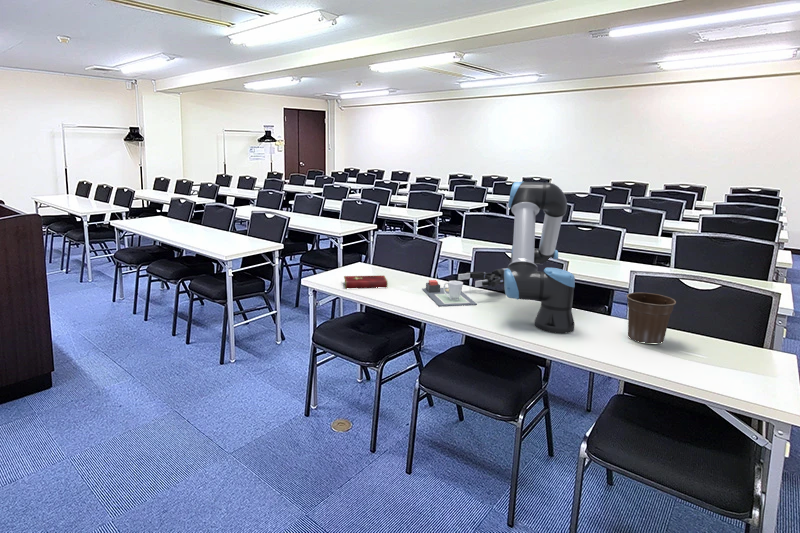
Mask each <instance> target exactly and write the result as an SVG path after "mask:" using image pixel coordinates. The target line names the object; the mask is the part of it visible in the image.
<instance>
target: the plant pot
mask: <svg viewBox="0 0 800 533" xmlns="http://www.w3.org/2000/svg"><path fill="white" fill-rule="evenodd" d="M626 299H627V307H628V311H627V312H628V321H627V322H628V323H627V337H628V336H629V337H630V338H631V339H633V341H635V340H636V341H639V342H645V343H658V344H659V343H661V342H663V341H665V336H666V333H667V329H668V325H669V322H670V318H671V314H672V313H673V310H674V308H675V307H674V306H675V305H676V304H677V301H676V300H675V299H674V298H672V297H670V296H666V295H662V294H658V293H651V292H630V293H628V294H626ZM629 337H628V338H629ZM630 338H629V339H630ZM631 339H630V340H631ZM636 341H635V342H636ZM639 342H638V343H639ZM663 343H664V342H663Z"/></svg>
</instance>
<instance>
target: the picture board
mask: <svg viewBox="0 0 800 533" xmlns="http://www.w3.org/2000/svg"><path fill="white" fill-rule="evenodd" d="M421 290H422V292H424V293H425V294H426V295H427V296H428V297H429V298H430V299H431V301H433V303H434V304H436V306H438V308H439V307H441V308H442V307H462V305H463V307H464V305H465V306H477V305H478V303H477V302H475V300H473V299H472V298H470V297H469V296H468V295H467V294H466V293H464V292H463V291H462V290H461V294H460V297H459V300H457V301H454V300H451V299H450V298H449V297H447V295H446V294H445V293H444V291H443V287H440V292H434V293H429V292H428V291H427V290H426V287H425V288H424V287H422V288H421ZM445 292H446V293H447V294H448V296H450V295H449V287H445Z"/></svg>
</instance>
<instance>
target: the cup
mask: <svg viewBox="0 0 800 533" xmlns="http://www.w3.org/2000/svg"><path fill="white" fill-rule="evenodd" d="M463 284H464V282H463V281H461V280H448V282H445V283H444V284H443V286H442V288H443V291H444V293H445V294H446V295H447V297H449V298H450V299H451V300H454V301H457V300H459V297H460V294H461V291H462V290H463ZM446 285H448V287H447V288H449V295H450V296H448V294H447V293H446V292H445V288H446Z"/></svg>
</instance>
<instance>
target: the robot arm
mask: <svg viewBox="0 0 800 533" xmlns="http://www.w3.org/2000/svg"><path fill="white" fill-rule="evenodd" d="M511 185H512V186H511V189H510V192H509V199H508V208H509V209H510V210H511V213H512V215H514V220H513V221H514V223H513V239H512V240H513V241H512V245H511V246H512V247H511V253H510V254H511V255H510V263H509V264H508V265H507V267H506V268H505V267H504V268H497V269H494V270H492V272H487V271H467V272H466V273H458V276H457V281H462V280H463V281H464V280H470V279H475V281H474V282H475V283H474V287H475V288H479V287H487V286H488V287H493V288H494V287H496V286H498V285H504V287H503V288H504V293H505V296H506V297H507V298H509V299H515V300H518V301H519V300H523V301H524V300H526V301H535V302H536V301H537V302H541V303H540V308H539V309H538V312H537V314H536V317H535V319H534V326H535V328H536V329H538V330H540V331H544V332H545V333H546V332H547V333H551V334H561V335H562V334H571V333H573V332H574V330H575V326H576V325H575V320H574V319H575V318H574V316H573V311H572V310H573V309H572V308H573V302H574V301H573V300H574V292H575V291H574V290H575V287H576V285H575V281H576V280H575V279H576V278H575V275H574V274H573V273H571V272H570V271H567V270H565V269H561V268H556V267H545V268H544V269H543V271H541V270H540V271H538V270H539V268H538V265H541V264H540V263H544V262H546V261H548V259H549V258H550V257H552V258H554V259H558V260H559V251H558V250H557V249H556V248H557V244H558V243H557V242H558V238H559V235H560V230H561V225H562V220H563V217H564V216H565V215H566V213H567V210H568V200H567V198H566V197H567V196H566V194H565V193H564V191H563V190H562V189H561V188H560V187H559V185H556V184H555V183H552V182H548V181H547V182H539V181H538V182H537V181H523V180H522V181H514V182H513V183H512V184H511ZM540 210H541V211H543V214H544V219H543V225H542V229H541V236H540V240H539V247H538V248H535V241H536V216H537V215H538V214H539V213H540Z"/></svg>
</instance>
